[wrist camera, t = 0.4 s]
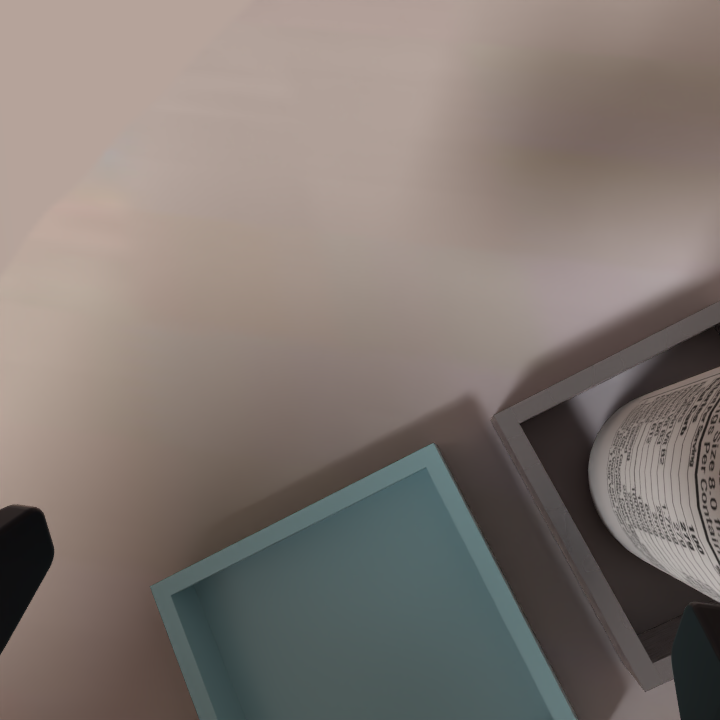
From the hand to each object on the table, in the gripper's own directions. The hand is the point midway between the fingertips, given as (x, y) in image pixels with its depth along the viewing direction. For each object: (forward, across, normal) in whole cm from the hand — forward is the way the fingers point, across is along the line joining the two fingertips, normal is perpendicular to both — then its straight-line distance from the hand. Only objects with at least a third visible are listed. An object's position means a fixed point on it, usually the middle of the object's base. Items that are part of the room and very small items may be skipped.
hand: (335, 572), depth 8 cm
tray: (+8, +1, +13) cm, 15 cm away
